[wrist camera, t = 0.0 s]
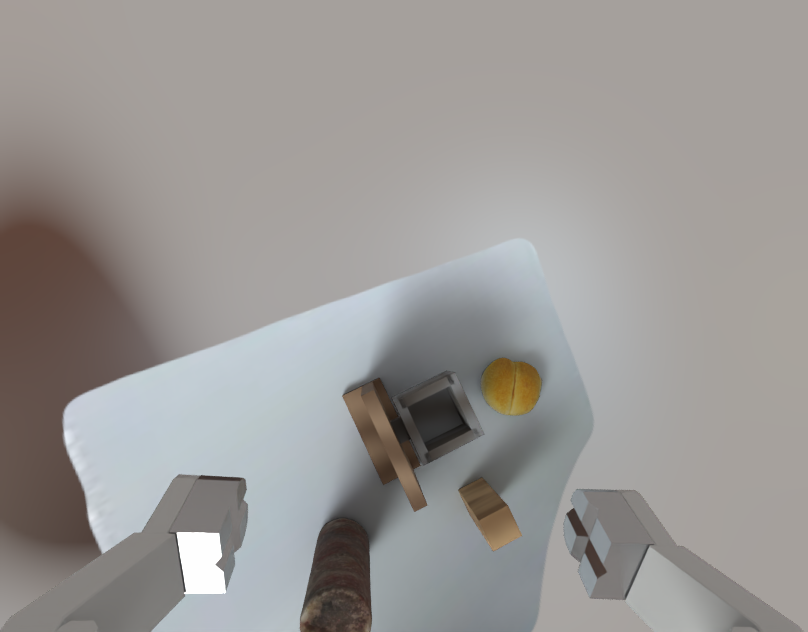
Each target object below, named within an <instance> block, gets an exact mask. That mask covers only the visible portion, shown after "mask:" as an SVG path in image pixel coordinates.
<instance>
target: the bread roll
mask: <svg viewBox="0 0 808 632" xmlns="http://www.w3.org/2000/svg"><path fill="white" fill-rule="evenodd" d="M541 386H542V379H541V378H540V376H539V374H538V372H537V370H536V369H535V368H534V367H532V366H531V365H529V364H527V363H525V362H512V361H511V360H509V359H507V358H499V359H497V360H495V361H494V362H492V363H491V364H490V365H489V366H488V367H487V368H486V370H485V371H484V373H483V375H482V377H481V390H482V394H483V396H484V399H485V400H486V402H487V403H488V404H489V406H491V407H492V408H493V409H494V410H495V411H497V412H499V413H501V414H504V415H522V414H526V413H528V412H530V411H531V410H532V409H533V408H534V406H535V404H536V402H537V401H538V398H539V397H540V396H539V394H540V390H541Z"/></svg>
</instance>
